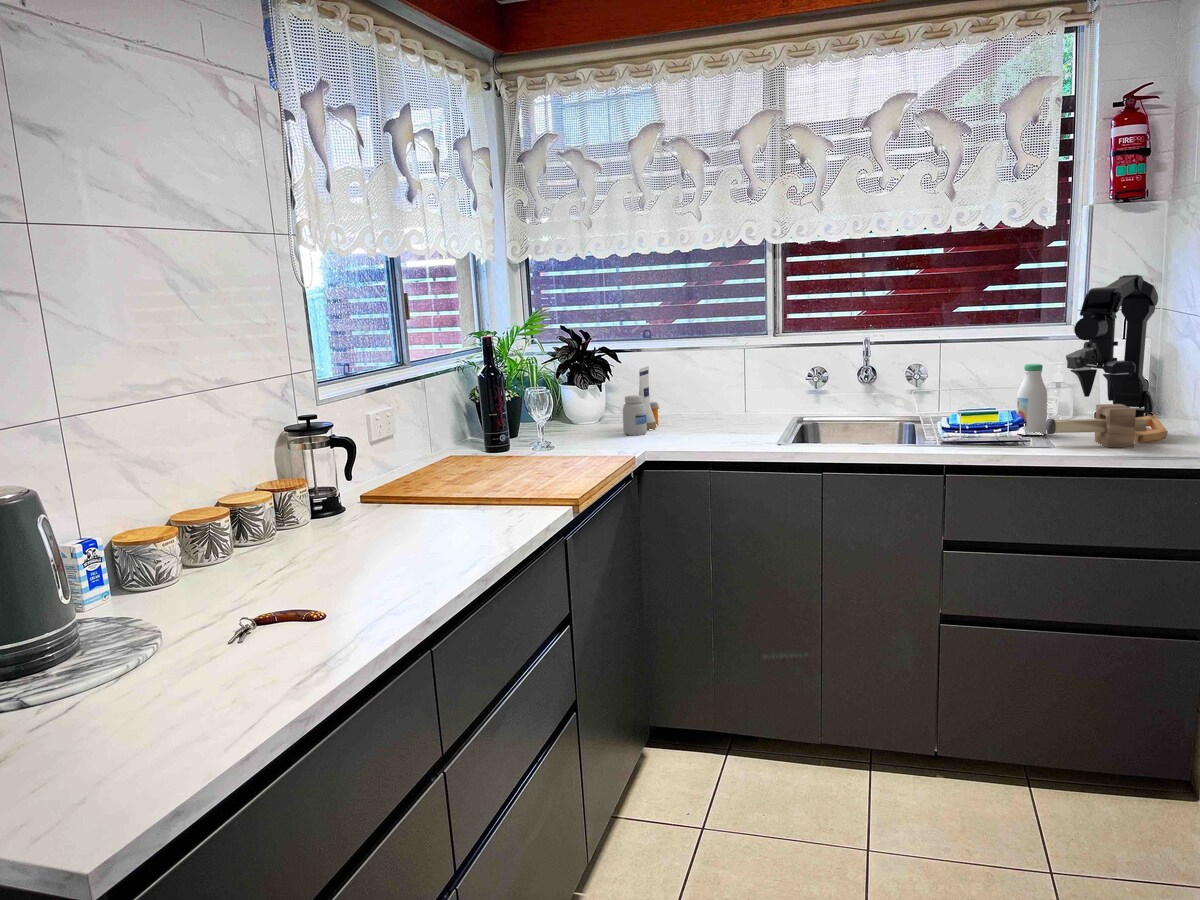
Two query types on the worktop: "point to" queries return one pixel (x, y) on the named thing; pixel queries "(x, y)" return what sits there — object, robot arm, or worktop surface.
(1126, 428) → the bearing block
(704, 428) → the worktop surface
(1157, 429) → the frame
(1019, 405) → the milk bottle
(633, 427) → the toiletry set
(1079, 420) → the shaft
